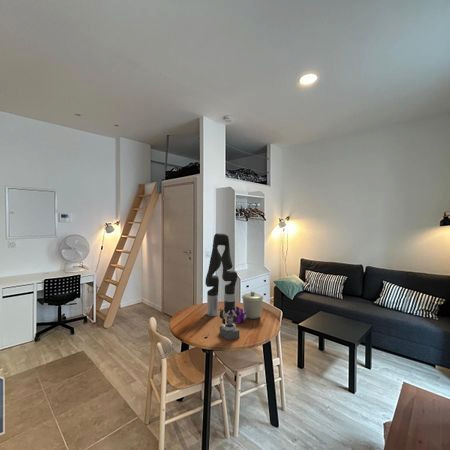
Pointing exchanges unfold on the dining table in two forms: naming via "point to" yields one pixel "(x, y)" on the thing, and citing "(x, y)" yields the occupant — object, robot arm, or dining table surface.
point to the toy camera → (239, 316)
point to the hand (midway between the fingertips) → (229, 322)
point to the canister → (252, 305)
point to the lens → (229, 321)
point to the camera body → (229, 332)
